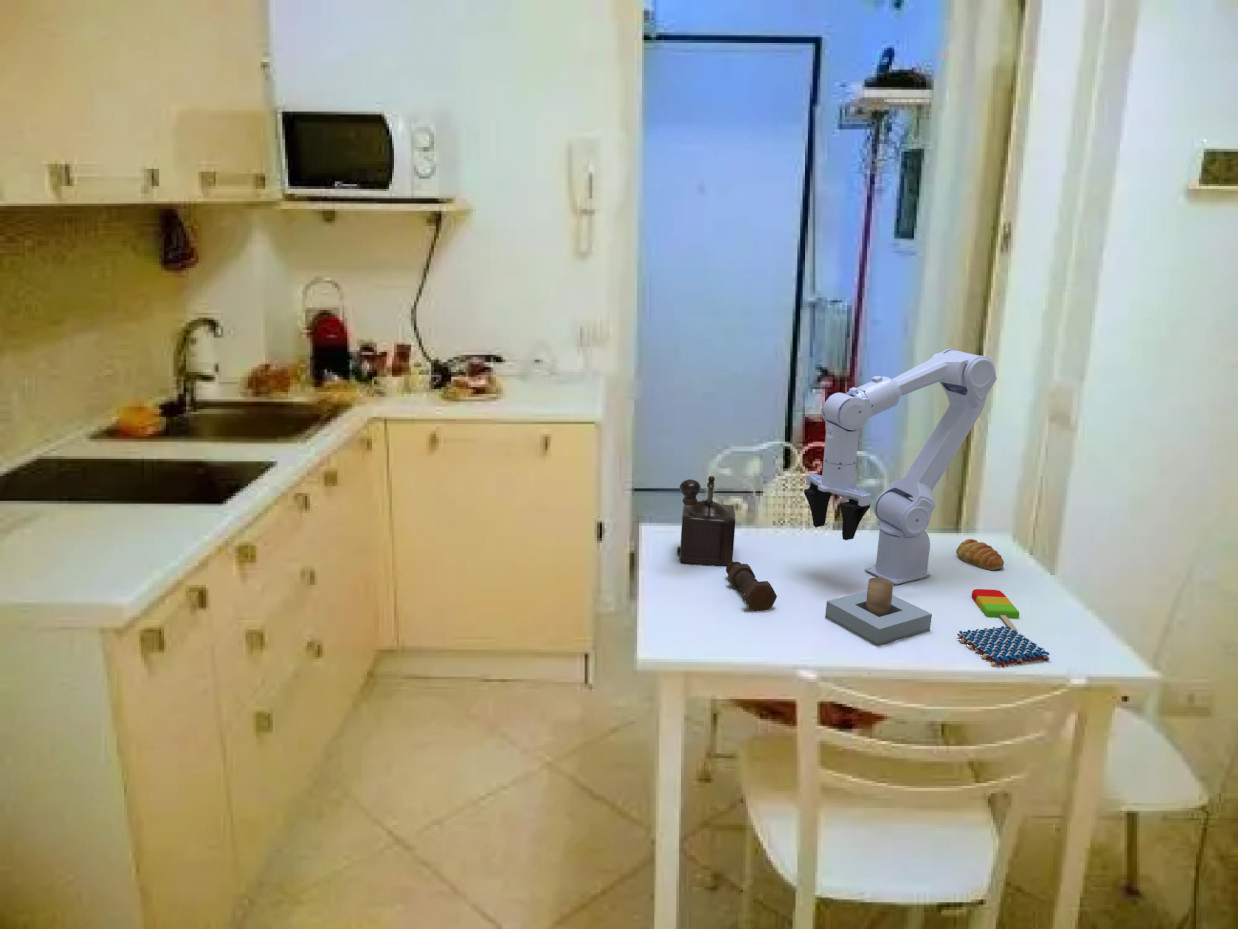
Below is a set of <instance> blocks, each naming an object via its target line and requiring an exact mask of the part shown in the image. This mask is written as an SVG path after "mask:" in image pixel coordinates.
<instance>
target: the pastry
mask: <svg viewBox="0 0 1238 929" xmlns="http://www.w3.org/2000/svg"><path fill="white" fill-rule="evenodd" d="M955 551H956V555H957V557H958V558H959V560H960V561H961V560H962V561H963V562H964V563H966V564H968V565H971V566H974V567H977V568H980V569H982V570H988V571H989V570H990V571H995V570H999V569H1002V568H1003V566H1004V564H1005V561H1004V559H1003V558H1002V555H1001V554H1000V553H999V552H998V551H997V550H995V549H994V548H993V546H991V545H988V544H987V543H986V542H982V541H981V542H979V541H978V540H976V539H973V538H968V539H965V540H964V541H962V542H961V543H960V544H959V545H958V547H957V548H956V550H955Z"/></svg>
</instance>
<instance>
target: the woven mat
mask: <svg viewBox="0 0 1238 929" xmlns="http://www.w3.org/2000/svg"><path fill="white" fill-rule="evenodd" d="M956 634H957V637H958V639H961V640H959V642H960V643H961V644H964V643H965V644H964V645H966V646H967V644H968V645H969V647H967V648H968V649H969V650H971V649H975V650H974V651H975V652H980V653H978V654H979V655H980V654H981V655H982V656H980V658H981V659H983V660H984V659H985V662H986V663H987V662H991V663H990V665H991V666H992V667H994V668H996V667H1005V666H1011V665H1012V666H1013V665H1017V664H1018V665H1022V664H1027V663H1029V664H1030V663H1036V662H1037V663H1038V662H1043V661H1044V662H1045V661H1046V662H1047V661H1050V657H1049V656H1050V654H1051V653H1050V652H1049V651H1046V650H1045V648H1044V647H1040V646H1037V645H1038V643H1035V642H1034V641H1032V640H1031V639H1029V638H1027V637H1026V635H1023V634H1021V633H1019V631H1018V630H1017V631H1015V630H1013V628H1012V629H1011V628H1010V627H1008V626H1004V625H1001V627H995V626H993V627H992V628H987V627H985V628H984V629H979V628H976V629H975V630H970V629H967V631H963V630H959V631H958V633H956ZM975 652H974V653H975ZM979 655H978V656H979ZM986 659H987V661H986Z"/></svg>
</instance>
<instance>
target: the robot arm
mask: <svg viewBox="0 0 1238 929" xmlns="http://www.w3.org/2000/svg"><path fill="white" fill-rule="evenodd" d="M996 373H997V372H996V368H995V364H994V362H993V361H992V359H991V358H990V357H989V356H986V355H977V354H974V353H970V352H965V351H960V350H958V349H956V348H946V349H944V350H942V352H938V353H934V354H933V355H932V357H931V358H929V359H928V360H926V361H924V362H923V363H920V364H919V365H917V366H915V367H912V368H911V369H909V370H907V371H905V372H903V373H901V374H899V375H897V376H896V377H894V378H890V377H889V376H879V375H875V376H872V377H871V381H868V382H866V383H865V384H862V385H860V386H858V387H854V386H852V387H850V388H849V389H848V391H847V392H846V393H844V392H835V393H833V394H831V395H829V397H828V398H827V399H826V401H825V402H824V404H823V407H821V408H820V413H821V417H822V419H823V420H824V422H825V426H824V428H825V438H824V451H823V460H822V462H823V464H822V472H821V473H822V475H820V474H816V473H809V474H806V475H805V476H806V478H805V485H806V486H809V487H808V488H805V489H804V490H803V494H804V496H805V498H806V500H807V503H808V505H809V509H810V512H811V518H812V524H813V527H815V528H818V527H819V528H820V527H824V526H825V524H826V522H827V513H828V506H829V503H830V499H831V496H832V494H833V495H836V496H838V497H841V498H843V499H845V500H848V501H844V502H840V503H839V507H840V508H839V509H840V511H841V518H842V519H841V520H842V527H841V528H842V529H841V532H842V533H841V536H842V540H844V541H850V540H853V539H854V538H855V535H856V533H857V530H858V528H859V525H860V523H861V521H862V519H863V517H864V516H865V515H866V513H867V512H868V510H869V509H870V508H871V500H872V494H871V493H868V492H866V491H864V490H863V489H861V488H860V487H859V486H857V485H855V479H856V469H857V460H858V459H857V458H858V446H859V438H860V429H861V428H863V427H864V426H865V424H866V423H867V421H868V420H869V419H870V418H872V417H873V416H876V415H878V414H881V413H882V412H884V411H887V410H890V409H891V408H893V407H895V406H897V405H898V404H899V402H900V398H901V397H902V396H905V395H908V394H911V393H913V392H915V391H917V390H920V389H922V388H923V389H924V388H925V387H929V386H931V385H933V384H937V383H939V384H940V385H941V386H940V387H942V389H943V390H944V393H945V394H946V396H947V400H948V403H949V404H948V405H949V406H947V409H946V410H945V412H944V413H943V415H942V417H941V418H940V420H939V421H938V423H937V425H936V427H935V428H934V429H933V432H932V433H931V434H930V436H929V437H928V439H927V440H926V442H925V444H924V446H923V447H922V449H921V450H920V452H919V453H918V455H917V457H916V458H915V460H914V462H913V463H912V465H911V466H910V467H909V470H908V471H907V472H906V474H905V475H904V476H903V477H900V478H899V479H896V480H893V481H892V482H891V483H889V486H888V487H887V489H885V490H884V491H882V492H881V493H880V494H879V495H878V496H877V497H876V499H875V501H874V503H873V504H874V505H873V513H874V515H875V517H876V518H877V519H878V526H879V530H878V531H879V534H878V543H877V551H876V560H875V565H872V566H868V567H865V569H864V570H865V571H866V572H867V573H869V574H872V575H874V576H875V577H877V578H885V579H888V580H891V581H892V582H893V585H900V584H905V583H908V582H913V581H916V580H920V579H923V578H928V577H930V576H931V573H930V572H928V566H929V557H930V552H931V550H930V549H931V540H930V537H929V534H928V533H927V531H926V529H927V527H928V526H929V524H930V521H931V517H932V513H933V511H934V509H935V507H936V505H937V504H936V502H935V499H934V498H935V497H934V495H933V490H934V489H935V488H936V486H937V484H938V483H939V481H940V479H941V478H942V476H943V475H944V472H945V471H946V470H947V468H948V467H949V465H950V463H951V462H952V461H953V458H954V457H955V456H956V454H957V452H958V451H959V449H960V448H961V446H962V444H963V443H964V441H965V439H966V438H967V436H968V435H969V434H970V432H971V431H972V428H973V427H974V425H975V424H976V422H977V421H978V419H979V417H980V416H981V414H982V413H983V410H984V408H985V404H986V400H987V396H988V394H989V392H991V389H992V387H993V386H994V385H995V383H996V381H997V375H996Z"/></svg>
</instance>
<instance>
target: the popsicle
mask: <svg viewBox="0 0 1238 929" xmlns="http://www.w3.org/2000/svg"><path fill="white" fill-rule="evenodd" d="M971 599H972V600H973V602H974V603H975V604H976V606H977V607H978V609H979V610H980V611H981V612H982V614H983V613H984V614H983V616H984V617H986V618H993V617H994V619H995V618H998V619H1000V618H1001V620H1002V621H1003V622H1004V624H1005V625H1006V627H1010V628H1011V629H1012V628H1013V630H1015V631H1017V632H1018V629H1017V627H1016V626H1015V625H1014V624H1013V622H1012V621H1011V619H1013V620H1014V619H1015V620H1018V619H1019V618H1020V611H1019V610H1018V609H1017V608H1016V607H1015V605H1014V604H1013V602H1011V600H1010V599H1009V598H1008V597H1007V595H1005V593H1004V592H1003V591H1001V590H998V589H989V588H987V589H985V588H974V589H973V590H972V592H971Z"/></svg>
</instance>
